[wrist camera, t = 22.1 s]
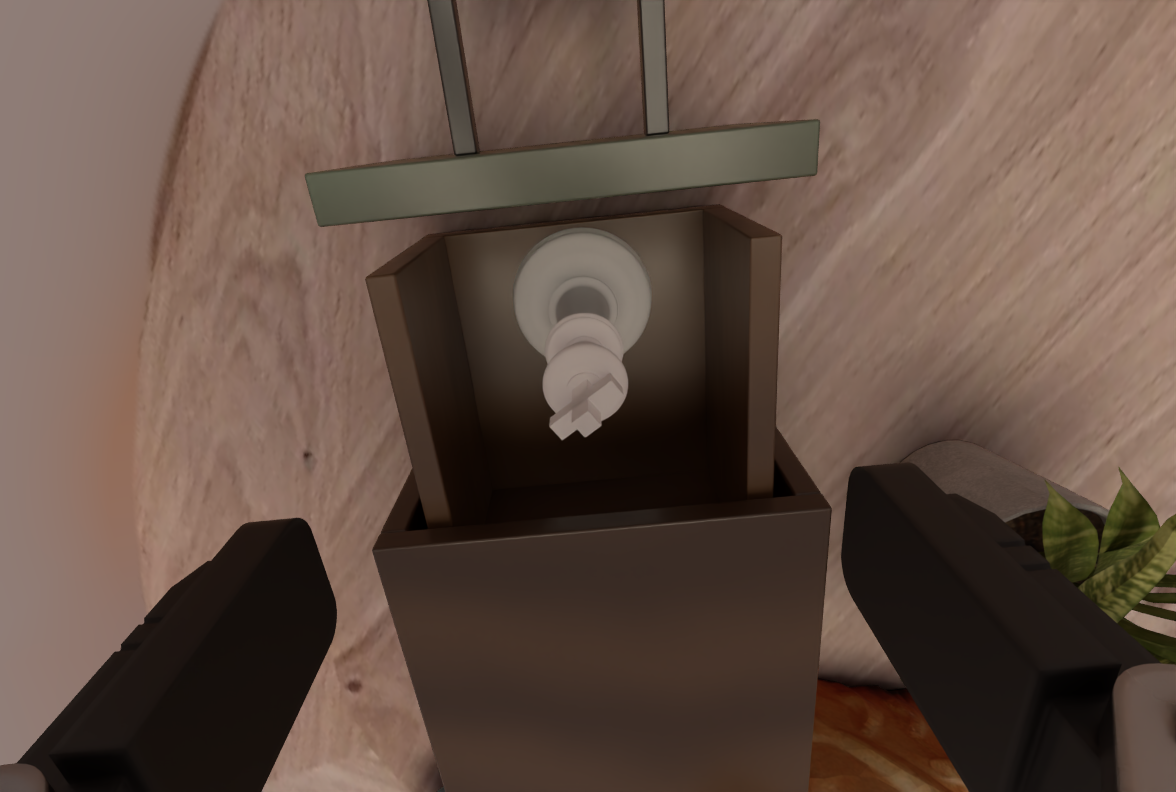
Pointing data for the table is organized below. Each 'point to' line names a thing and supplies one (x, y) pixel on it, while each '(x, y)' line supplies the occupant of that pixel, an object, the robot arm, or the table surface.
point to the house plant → (1072, 532)
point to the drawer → (515, 368)
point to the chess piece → (582, 321)
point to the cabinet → (617, 642)
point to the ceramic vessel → (875, 744)
